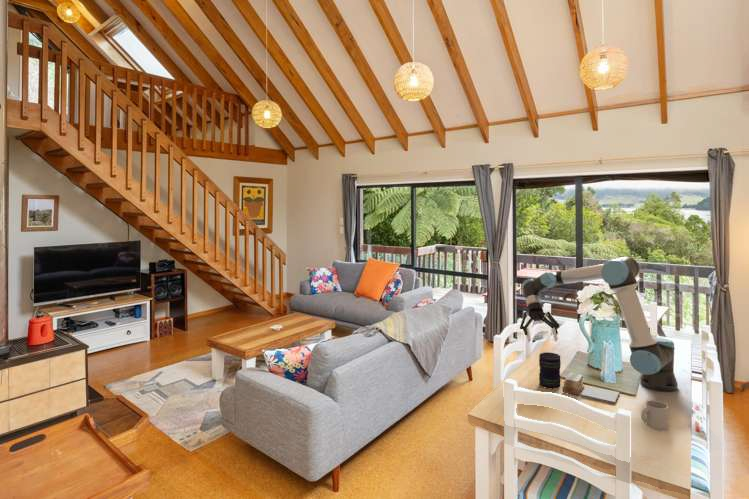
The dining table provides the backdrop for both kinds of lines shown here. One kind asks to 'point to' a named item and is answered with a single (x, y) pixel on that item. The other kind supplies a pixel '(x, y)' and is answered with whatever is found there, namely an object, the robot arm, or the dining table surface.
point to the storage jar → (549, 370)
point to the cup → (655, 415)
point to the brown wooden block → (573, 384)
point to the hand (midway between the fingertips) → (542, 340)
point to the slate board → (600, 394)
